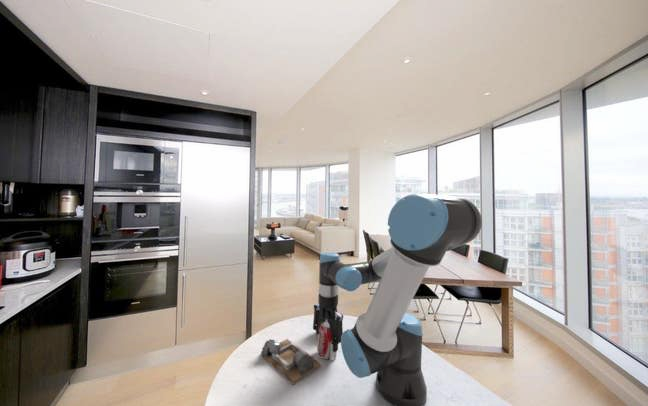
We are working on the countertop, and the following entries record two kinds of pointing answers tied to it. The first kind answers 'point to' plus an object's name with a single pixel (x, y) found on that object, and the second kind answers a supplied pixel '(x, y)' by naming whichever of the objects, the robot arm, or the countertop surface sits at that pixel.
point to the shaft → (271, 348)
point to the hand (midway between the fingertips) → (326, 354)
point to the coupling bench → (293, 362)
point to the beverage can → (324, 340)
